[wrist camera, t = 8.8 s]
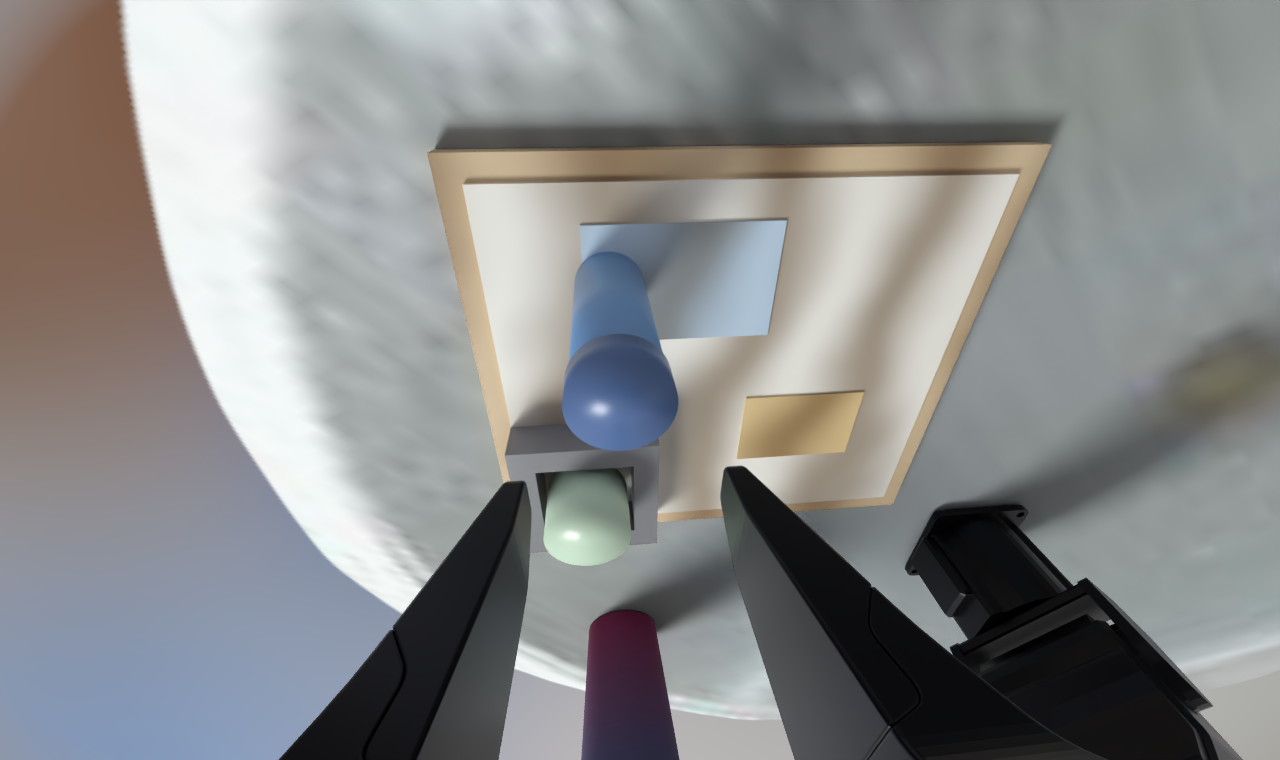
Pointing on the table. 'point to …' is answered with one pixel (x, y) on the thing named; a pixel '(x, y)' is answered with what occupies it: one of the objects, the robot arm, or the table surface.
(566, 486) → the button
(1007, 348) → the table surface
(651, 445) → the button housing
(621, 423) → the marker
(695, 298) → the beige flat board
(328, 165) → the table surface
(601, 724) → the cup
